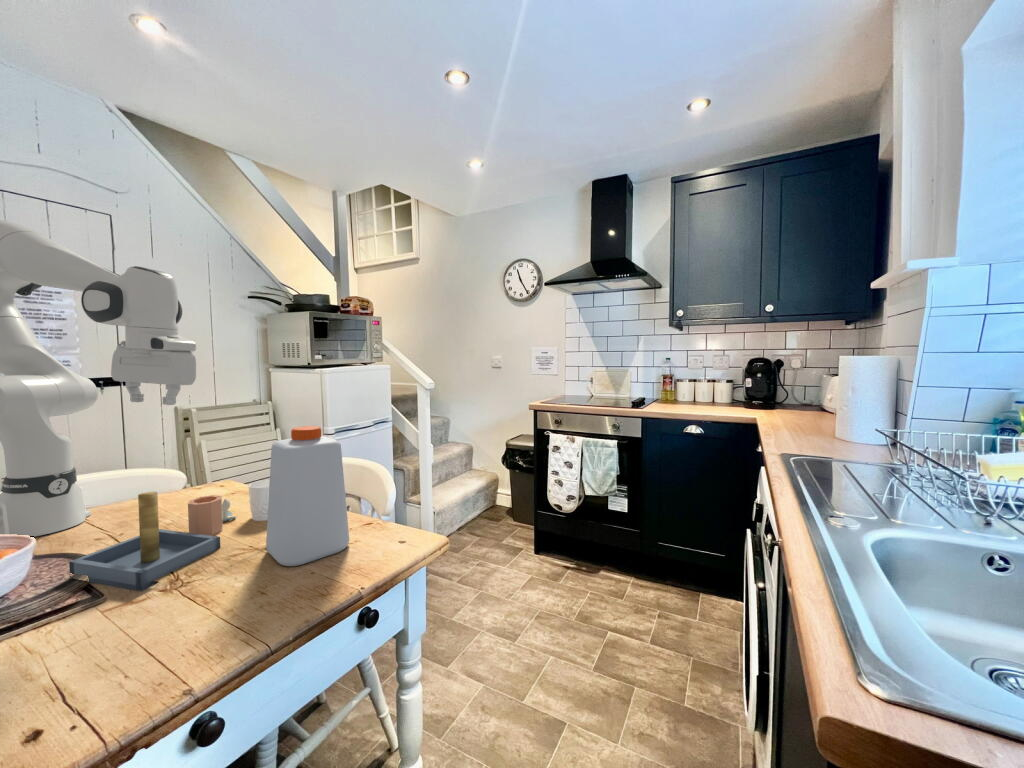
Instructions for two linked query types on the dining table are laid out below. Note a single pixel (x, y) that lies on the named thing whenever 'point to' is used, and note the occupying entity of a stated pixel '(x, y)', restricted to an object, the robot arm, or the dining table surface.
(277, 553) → the plastic bottle
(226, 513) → the pacifier
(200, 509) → the terracotta cup
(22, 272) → the robot arm
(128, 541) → the navy tray
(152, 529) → the dowel pin
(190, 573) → the dining table surface
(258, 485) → the white cup
